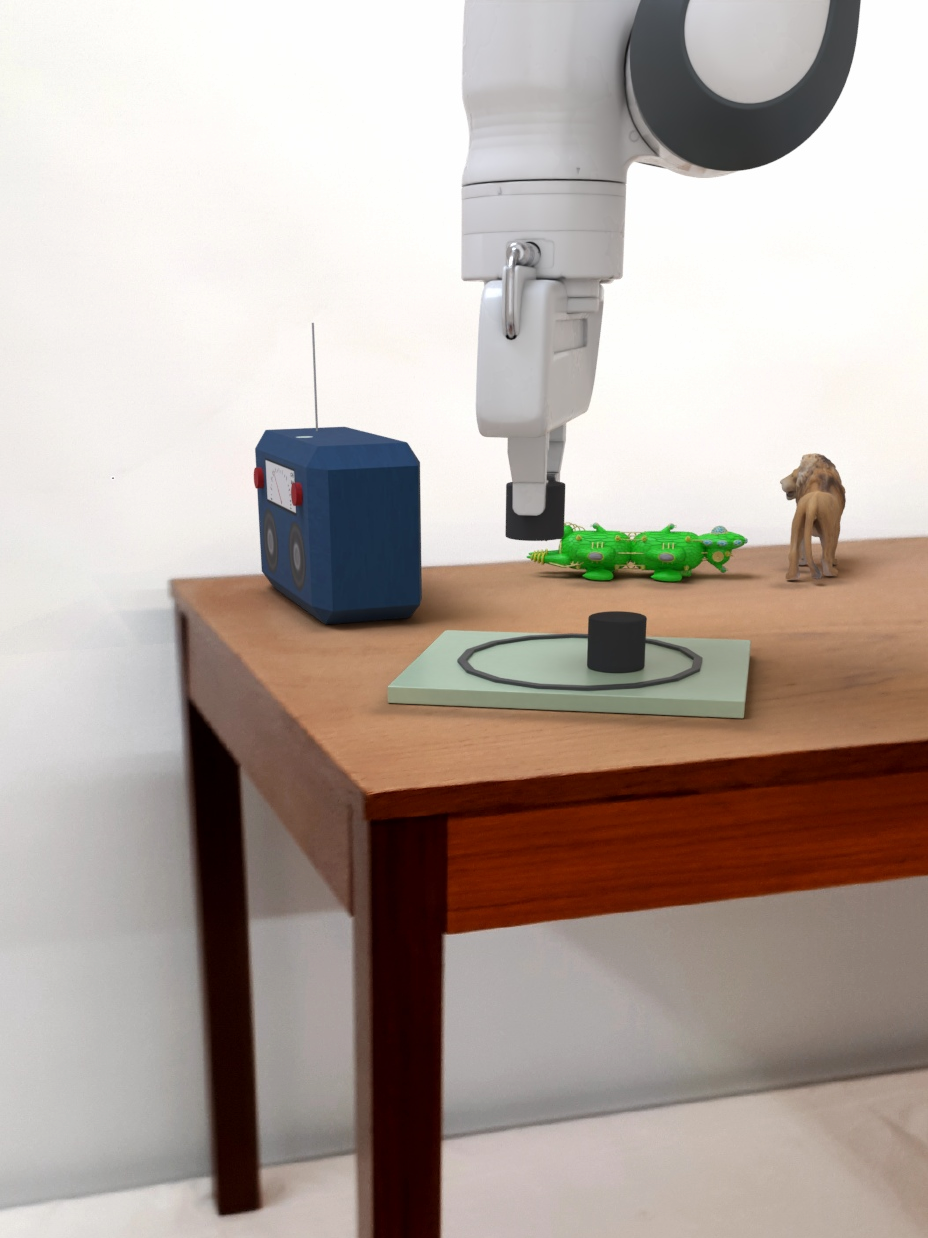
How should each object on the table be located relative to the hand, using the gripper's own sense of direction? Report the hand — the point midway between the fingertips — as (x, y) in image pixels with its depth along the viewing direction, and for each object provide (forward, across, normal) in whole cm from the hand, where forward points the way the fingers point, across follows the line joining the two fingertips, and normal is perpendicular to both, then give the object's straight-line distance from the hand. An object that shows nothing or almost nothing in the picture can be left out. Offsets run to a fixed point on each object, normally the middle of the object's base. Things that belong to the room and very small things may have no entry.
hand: (536, 508), depth 85 cm
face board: (+10, +1, -3) cm, 11 cm away
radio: (+10, +23, +19) cm, 31 cm away
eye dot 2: (+9, 0, -5) cm, 10 cm away
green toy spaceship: (+10, +38, -3) cm, 40 cm away
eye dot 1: (+2, 0, 0) cm, 2 cm away
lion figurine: (+10, +43, -17) cm, 47 cm away
